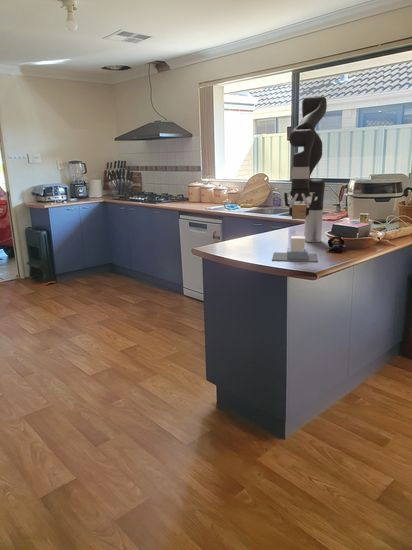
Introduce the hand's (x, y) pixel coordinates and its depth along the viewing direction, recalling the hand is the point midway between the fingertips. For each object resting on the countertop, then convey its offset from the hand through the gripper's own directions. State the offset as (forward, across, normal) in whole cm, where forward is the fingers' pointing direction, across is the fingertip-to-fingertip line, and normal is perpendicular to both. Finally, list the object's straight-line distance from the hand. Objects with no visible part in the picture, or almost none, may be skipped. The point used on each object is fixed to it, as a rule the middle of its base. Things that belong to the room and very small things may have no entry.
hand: (298, 215), depth 193 cm
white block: (+16, 0, 0) cm, 16 cm away
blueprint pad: (+19, 0, 0) cm, 19 cm away
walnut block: (+1, 0, 0) cm, 1 cm away
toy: (+20, -19, -19) cm, 33 cm away
